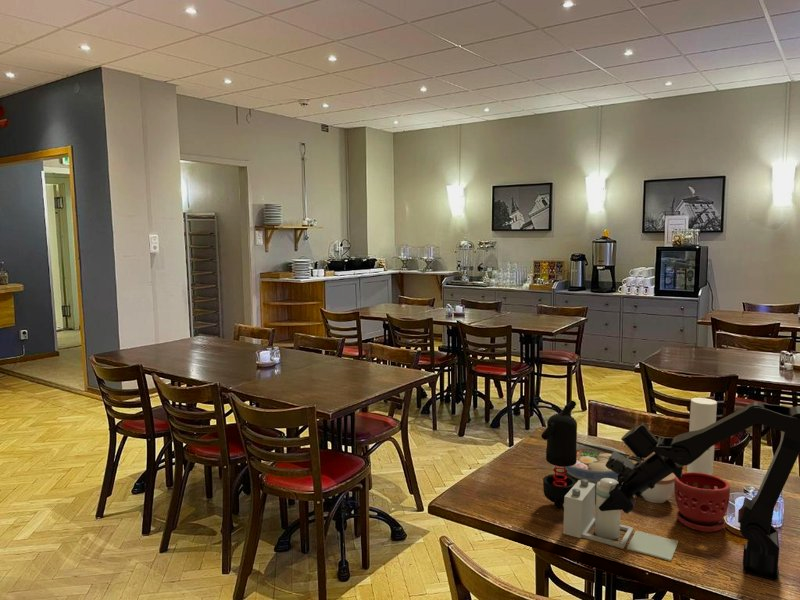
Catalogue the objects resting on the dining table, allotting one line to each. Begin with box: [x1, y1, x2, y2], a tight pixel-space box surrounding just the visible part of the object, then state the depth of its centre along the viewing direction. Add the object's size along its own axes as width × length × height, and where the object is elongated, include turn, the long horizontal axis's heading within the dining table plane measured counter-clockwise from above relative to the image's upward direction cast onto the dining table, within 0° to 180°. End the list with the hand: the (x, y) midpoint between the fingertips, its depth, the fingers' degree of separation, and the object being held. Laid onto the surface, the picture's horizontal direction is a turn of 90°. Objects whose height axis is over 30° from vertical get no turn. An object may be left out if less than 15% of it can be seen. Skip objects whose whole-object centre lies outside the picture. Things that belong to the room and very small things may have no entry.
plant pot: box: [673, 471, 731, 533], centre depth 160 cm, size 13×13×12 cm
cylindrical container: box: [686, 397, 718, 476], centre depth 187 cm, size 7×7×25 cm
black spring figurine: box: [540, 400, 578, 509], centre depth 168 cm, size 14×9×30 cm
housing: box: [563, 479, 635, 550], centre depth 156 cm, size 15×12×11 cm
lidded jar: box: [641, 473, 675, 504], centre depth 175 cm, size 11×11×9 cm
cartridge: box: [594, 478, 622, 541], centre depth 155 cm, size 6×6×14 cm
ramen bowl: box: [562, 441, 645, 485], centre depth 189 cm, size 25×23×8 cm
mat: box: [626, 530, 679, 562], centre depth 150 cm, size 10×10×1 cm
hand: (602, 504), depth 155 cm, fingers closed on cartridge, 6 cm apart
